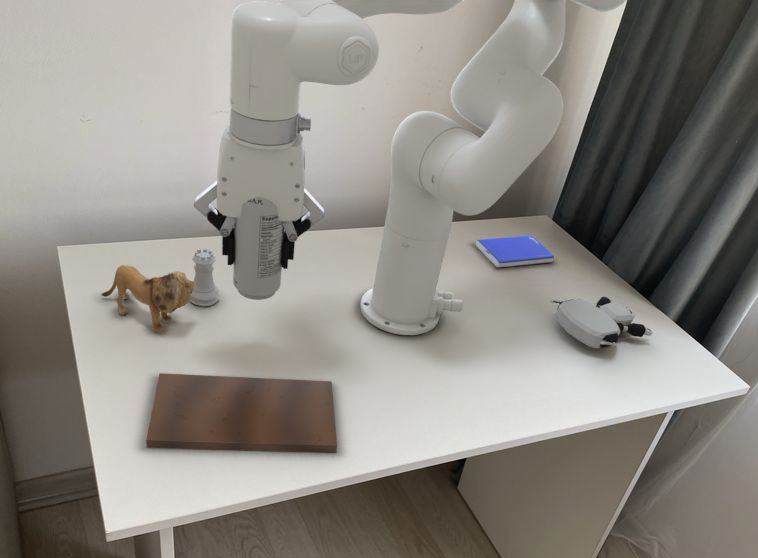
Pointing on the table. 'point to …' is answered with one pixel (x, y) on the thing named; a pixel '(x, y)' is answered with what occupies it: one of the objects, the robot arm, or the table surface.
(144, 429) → the table surface
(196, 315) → the table surface
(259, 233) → the energy drink can
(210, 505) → the table surface
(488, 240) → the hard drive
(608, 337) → the robot toy
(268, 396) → the serving board
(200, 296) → the rook chess piece
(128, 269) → the lion figurine
